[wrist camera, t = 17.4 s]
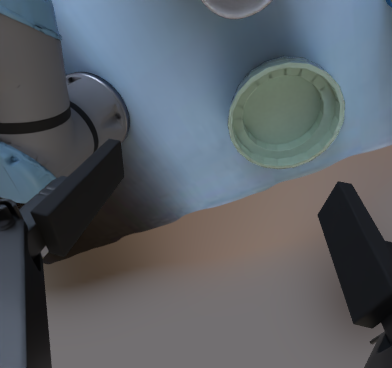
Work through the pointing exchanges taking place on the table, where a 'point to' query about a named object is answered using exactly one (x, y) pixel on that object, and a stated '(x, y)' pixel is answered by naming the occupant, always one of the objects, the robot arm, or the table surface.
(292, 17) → the table surface
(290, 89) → the bowl
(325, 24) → the table surface
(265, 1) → the teacup
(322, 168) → the table surface
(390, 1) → the ornament
